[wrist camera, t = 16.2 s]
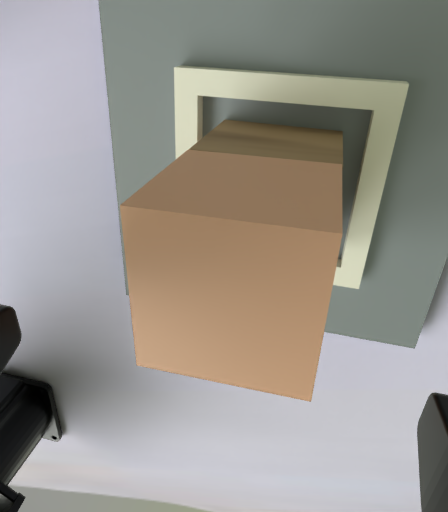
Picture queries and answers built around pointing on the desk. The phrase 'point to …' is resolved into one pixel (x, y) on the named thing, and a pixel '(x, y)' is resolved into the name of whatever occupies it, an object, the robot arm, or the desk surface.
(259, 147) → the walnut block
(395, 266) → the blueprint plate
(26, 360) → the desk surface
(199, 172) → the terracotta block
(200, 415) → the desk surface
